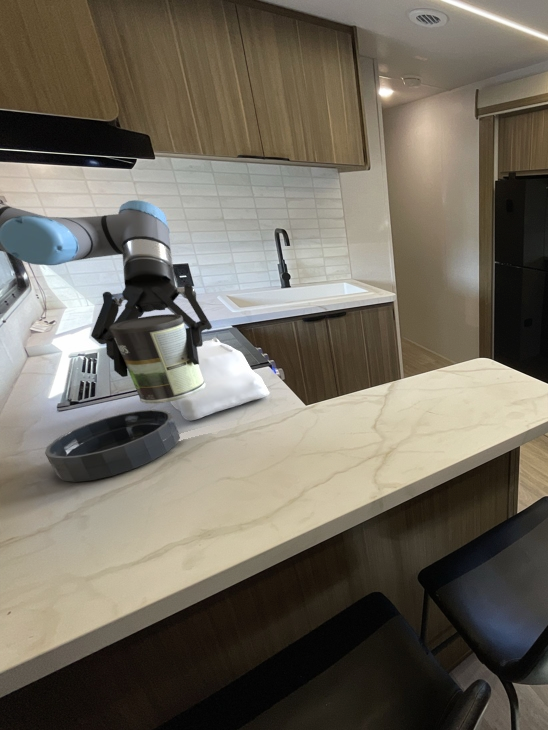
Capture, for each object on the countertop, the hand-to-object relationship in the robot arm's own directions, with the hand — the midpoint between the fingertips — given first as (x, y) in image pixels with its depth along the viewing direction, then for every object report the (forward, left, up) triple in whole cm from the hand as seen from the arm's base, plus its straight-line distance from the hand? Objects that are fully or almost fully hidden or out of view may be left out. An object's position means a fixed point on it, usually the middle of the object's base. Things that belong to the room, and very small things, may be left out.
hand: (158, 367), depth 72 cm
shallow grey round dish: (-18, +5, -20) cm, 27 cm away
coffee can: (-1, +3, -6) cm, 7 cm away
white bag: (-14, +34, -20) cm, 42 cm away
